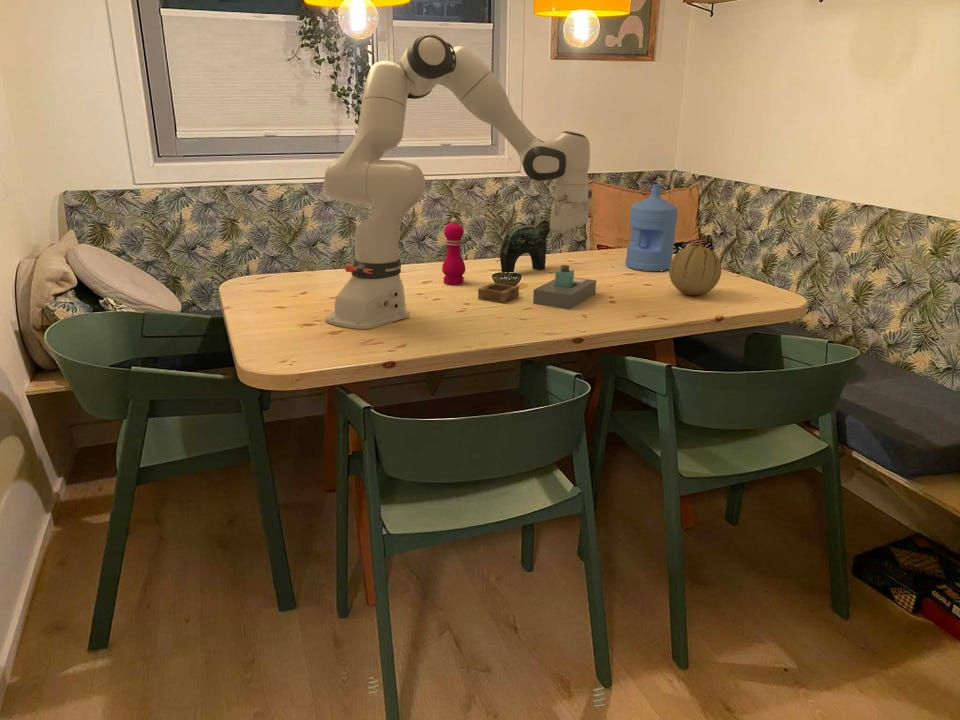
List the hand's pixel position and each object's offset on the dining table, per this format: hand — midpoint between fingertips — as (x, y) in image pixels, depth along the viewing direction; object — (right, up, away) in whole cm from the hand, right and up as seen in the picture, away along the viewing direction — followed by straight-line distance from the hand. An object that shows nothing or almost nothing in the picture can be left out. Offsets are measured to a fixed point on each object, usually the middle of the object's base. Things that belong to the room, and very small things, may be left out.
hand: (568, 244), depth 194 cm
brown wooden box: (-19, -15, +5) cm, 25 cm away
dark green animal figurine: (-10, -3, +36) cm, 38 cm away
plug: (-1, -15, +5) cm, 16 cm away
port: (0, -15, +5) cm, 16 cm away
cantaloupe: (+39, -13, +12) cm, 43 cm away
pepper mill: (-33, -9, +20) cm, 40 cm away
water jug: (+34, -1, +46) cm, 57 cm away
